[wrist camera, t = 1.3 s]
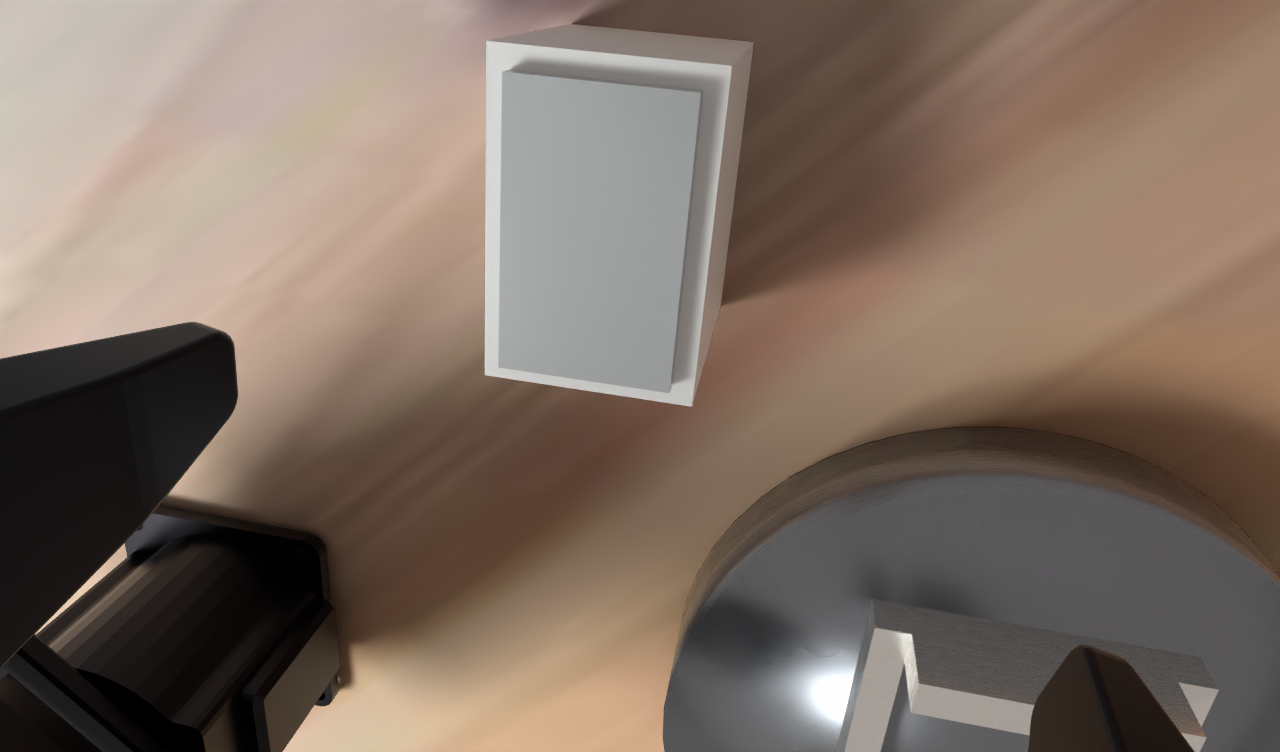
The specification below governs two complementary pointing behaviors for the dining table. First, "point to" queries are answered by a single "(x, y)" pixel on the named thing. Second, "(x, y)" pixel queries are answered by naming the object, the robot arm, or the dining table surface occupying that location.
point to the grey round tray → (970, 601)
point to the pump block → (609, 205)
